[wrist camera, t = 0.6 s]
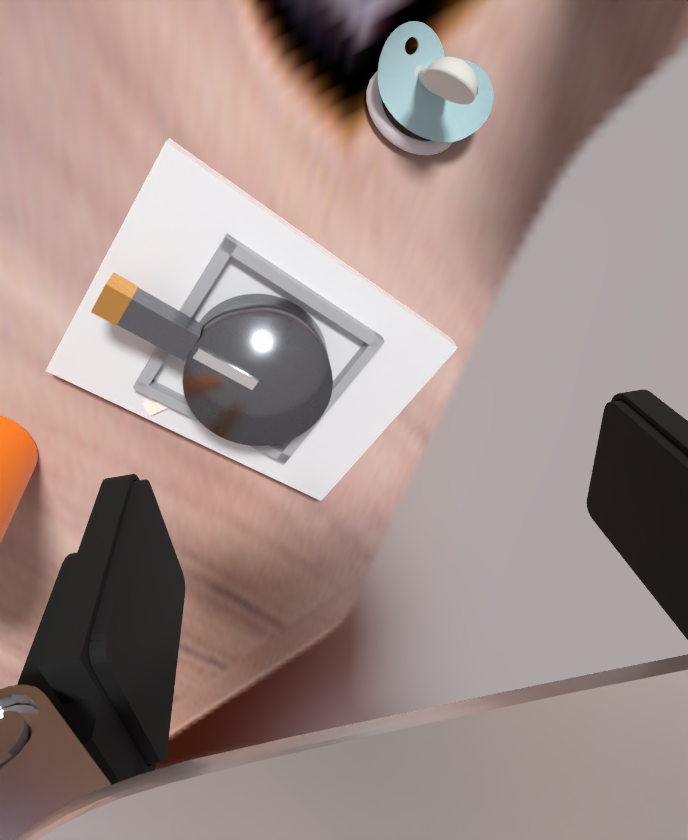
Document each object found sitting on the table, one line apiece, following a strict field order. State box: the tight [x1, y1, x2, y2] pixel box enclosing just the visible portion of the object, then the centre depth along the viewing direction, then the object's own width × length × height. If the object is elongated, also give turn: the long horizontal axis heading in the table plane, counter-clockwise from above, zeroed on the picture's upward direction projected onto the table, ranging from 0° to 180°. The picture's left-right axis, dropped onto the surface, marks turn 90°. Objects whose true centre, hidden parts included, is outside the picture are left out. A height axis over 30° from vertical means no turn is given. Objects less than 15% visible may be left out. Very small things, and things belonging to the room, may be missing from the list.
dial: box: [91, 272, 333, 446], centre depth 37 cm, size 16×10×4 cm, turn 53°
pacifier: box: [366, 21, 494, 155], centre depth 31 cm, size 7×6×6 cm
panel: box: [46, 138, 458, 501], centre depth 41 cm, size 18×24×3 cm
